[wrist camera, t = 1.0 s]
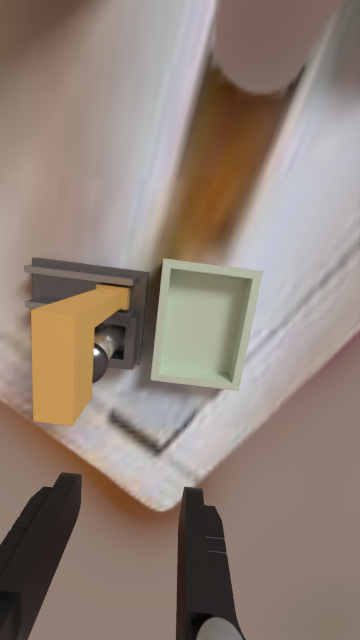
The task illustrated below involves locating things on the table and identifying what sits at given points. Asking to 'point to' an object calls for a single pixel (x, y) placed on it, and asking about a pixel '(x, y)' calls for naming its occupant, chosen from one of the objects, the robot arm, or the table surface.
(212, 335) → the tray
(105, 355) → the pin
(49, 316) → the bracket
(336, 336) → the table surface
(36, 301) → the hitch
